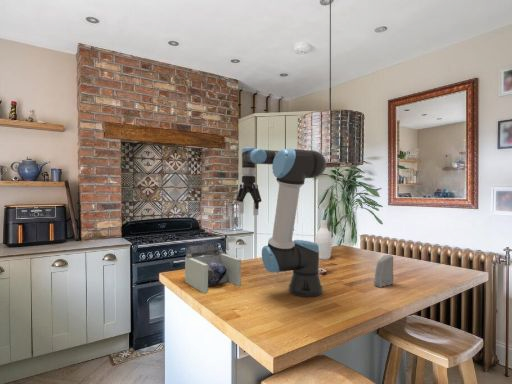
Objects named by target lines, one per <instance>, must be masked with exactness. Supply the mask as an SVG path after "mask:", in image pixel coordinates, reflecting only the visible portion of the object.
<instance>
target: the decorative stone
mask: <svg viewBox="0 0 512 384" xmlns="http://www.w3.org/2000/svg"><path fill="white" fill-rule="evenodd" d="M374 271H375V273H374V279H373V286H375V287H377V288H384V287H387V286H386V285H388V286H392V285H391V284H393V285H394V277H395V276H394V256H393V255H391V254H386V255H383V256H382V257H381V258H379V260H377V263H376V267H375V270H374ZM383 286H384V287H383Z"/></svg>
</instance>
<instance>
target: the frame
mask: <svg viewBox="0 0 512 384" xmlns="http://www.w3.org/2000/svg"><path fill="white" fill-rule="evenodd" d="M217 253H219V256H220V259H221V261H222V264H223V265H224V266H225V268H226V269H227V271H226V275H227V277H228V280H229V281H228V282H227V283H231V284H233V285H235V286H236V287H237V286H241V284H242V282H241V281H242V279H241V278H242V276H241V274H242V259H240V258H239V257H235V256H232V255H229V254H226V253H225V252H224V250H221V249H219V250H218V251H217ZM185 255H186V254H185ZM184 263H185V264H184V283H186V284H188V285H190V286H191V287H192V288H195V289H196V290H198V291H200V292H201V293H202V294H203V293H204V294H206V293H209V286H208V264H205V263H203V262H200V261H198V260H196V259H193V258H192V255H191V254H188V255H186V256H185V257H184Z"/></svg>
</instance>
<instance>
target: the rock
mask: <svg viewBox="0 0 512 384" xmlns="http://www.w3.org/2000/svg"><path fill="white" fill-rule="evenodd" d="M226 271H227V269H226V268H225V266H224V265H222V264H219V263H216V262H214V261H213V262H212V263H211V264H210V265H209V266H208V281H209V282H210V283H211V284H212V285H211V286H217V285H218V283H219V281H220V280H221V279H222V278H223V277H224V275H225V273H226Z"/></svg>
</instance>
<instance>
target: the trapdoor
mask: <svg viewBox="0 0 512 384" xmlns="http://www.w3.org/2000/svg"><path fill="white" fill-rule="evenodd" d="M218 250H220V249H219V247H218V244H217V243H207V244H200V245H199V244H198V245H190V246H188V249H187V250H186V252H185V255H188V254H191V255H192V258H193V259H196V260H198V261H200V262H203V263H205V264H208V266H209V265H210V264H211V263H212V262H213V261H214V262H216V263H219V264H222V261H221V259H220V256H219V253H218ZM222 265H223V264H222ZM228 281H229V280H228V277H227V275H226V273H225V275H224V277H223V278H222V279H221V280H220V281H219V283H218V284H224V283H229V282H228ZM218 284H217V285H218ZM211 286H213V285H212V284H211V283H210V282H209V281H208V287H211Z"/></svg>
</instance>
